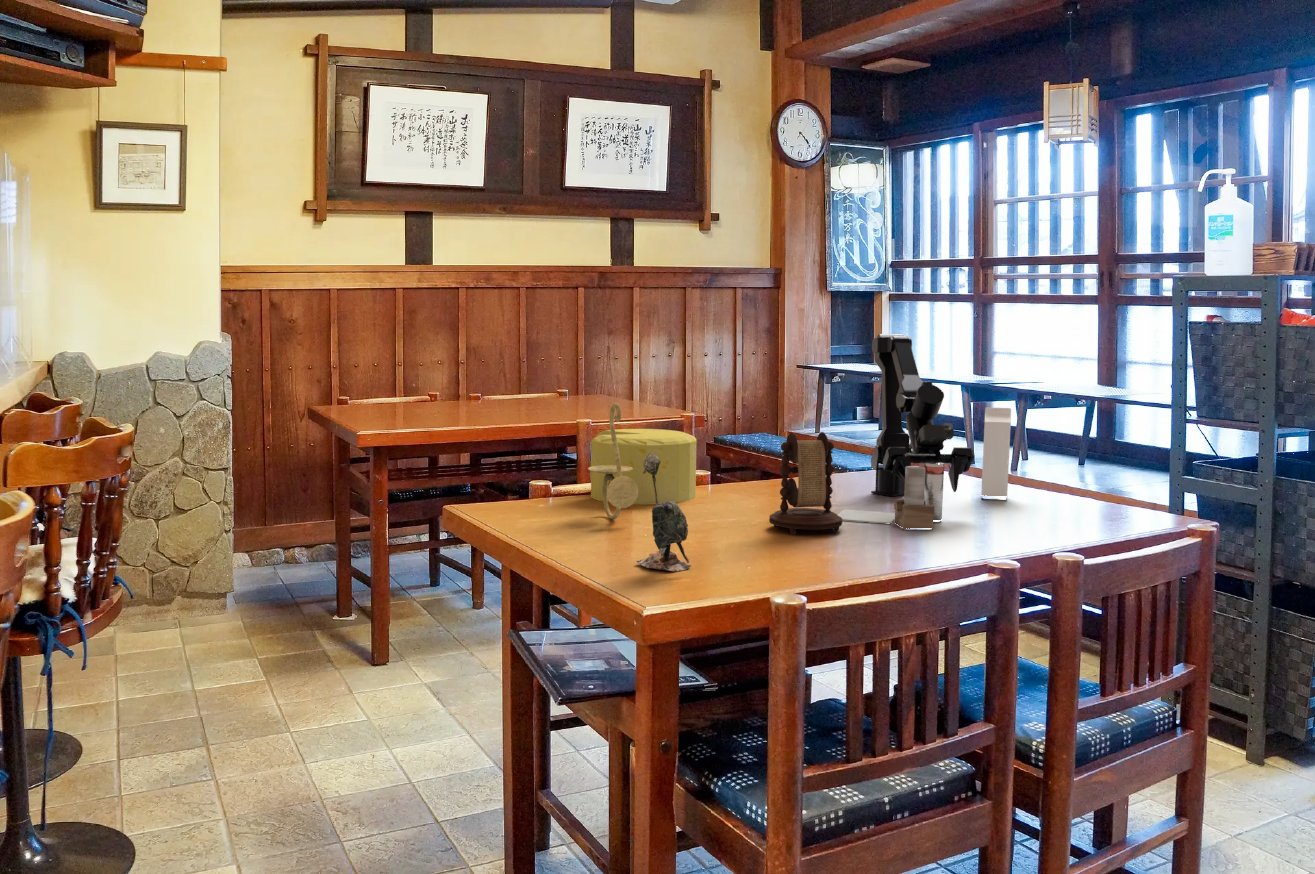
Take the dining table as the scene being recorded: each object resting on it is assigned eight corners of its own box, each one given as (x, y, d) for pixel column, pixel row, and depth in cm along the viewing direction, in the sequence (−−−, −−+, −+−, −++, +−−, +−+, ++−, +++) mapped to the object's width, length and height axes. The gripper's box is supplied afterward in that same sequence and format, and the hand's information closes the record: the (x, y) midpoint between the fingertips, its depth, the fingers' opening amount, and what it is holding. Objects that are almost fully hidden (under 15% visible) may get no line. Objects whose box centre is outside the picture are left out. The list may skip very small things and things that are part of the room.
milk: (981, 495, 270) (984, 406, 268) (1007, 497, 268) (1010, 407, 266) (981, 499, 264) (984, 408, 262) (1007, 501, 263) (1011, 408, 260)
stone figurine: (659, 577, 183) (660, 458, 180) (631, 563, 193) (632, 450, 190) (702, 573, 186) (704, 456, 184) (673, 559, 196) (674, 448, 194)
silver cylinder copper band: (919, 519, 238) (922, 461, 236) (938, 519, 238) (940, 462, 237) (925, 522, 234) (927, 464, 232) (944, 522, 234) (946, 464, 233)
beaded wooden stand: (785, 538, 216) (787, 437, 214) (758, 524, 230) (760, 429, 228) (854, 535, 220) (857, 435, 218) (823, 521, 234) (826, 428, 232)
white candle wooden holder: (893, 523, 233) (895, 464, 231) (921, 523, 233) (924, 464, 232) (904, 530, 225) (906, 470, 224) (933, 530, 225) (935, 470, 224)
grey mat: (844, 511, 247) (844, 509, 246) (898, 515, 242) (898, 513, 242) (833, 520, 235) (833, 518, 235) (890, 524, 231) (890, 522, 231)
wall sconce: (644, 524, 228) (645, 404, 226) (600, 526, 225) (601, 405, 222) (624, 512, 241) (625, 399, 239) (582, 514, 238) (583, 399, 236)
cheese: (565, 493, 266) (566, 432, 265) (647, 483, 284) (647, 425, 282) (635, 508, 247) (636, 442, 245) (718, 497, 264) (719, 434, 263)
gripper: (888, 409, 237) (900, 467, 227) (973, 410, 238) (989, 468, 228) (877, 442, 245) (888, 499, 236) (960, 442, 246) (974, 499, 237)
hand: (935, 490), depth 234 cm, fingers open, 8 cm apart
